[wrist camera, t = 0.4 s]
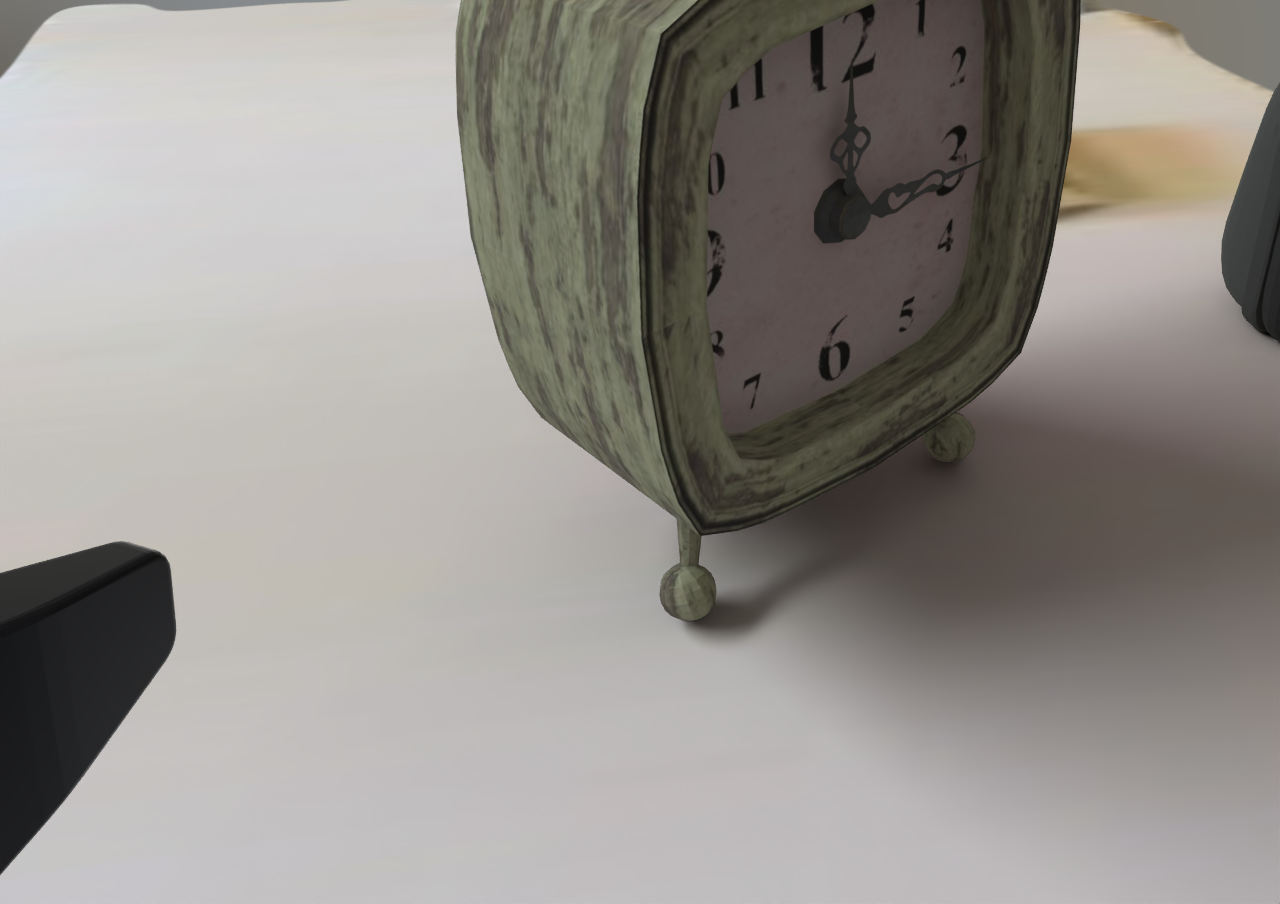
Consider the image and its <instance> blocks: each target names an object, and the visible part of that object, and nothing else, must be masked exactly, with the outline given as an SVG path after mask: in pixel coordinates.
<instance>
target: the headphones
mask: <svg viewBox="0 0 1280 904" xmlns="http://www.w3.org/2000/svg"><path fill="white" fill-rule="evenodd" d="M1221 262H1222V274H1223V277H1224V281H1225V284H1226V287H1227V289H1228V291H1229V292H1230V294H1231V295H1232V297H1233V298H1234V299H1235V301H1236V302H1237V303H1238V304H1239V305H1240V306H1241V307H1242V314H1243V316H1244V317H1245V319H1246V320H1247V321H1248V322H1249V323H1250V324H1252V325H1253V326H1254V327H1255V328H1256V329H1258V330H1261V331H1264V332H1268V333H1269V334H1270V335H1271V336H1273V337H1274V338H1276V339H1277V340H1279V341H1280V83H1279V85H1278V87H1277V88H1276V89H1275V91H1274V93H1273V95H1272V97H1271V100H1270V102H1269V104H1268V106H1267V108H1266V111H1265V113H1264V116H1263V119H1262V122H1261V124H1260V127H1259V130H1258V133H1257V135H1256V138H1255V141H1254V144H1253V146H1252V149H1251V152H1250V155H1249V157H1248V160H1247V163H1246V166H1245V168H1244V171H1243V174H1242V177H1241V180H1240V183H1239V186H1238V189H1237V192H1236V195H1235V198H1234V201H1233V204H1232V207H1231V209H1230V212H1229V215H1228V218H1227V221H1226V225H1225V230H1224V234H1223V239H1222V254H1221Z"/></svg>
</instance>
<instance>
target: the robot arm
mask: <svg viewBox="0 0 1280 904" xmlns="http://www.w3.org/2000/svg"><path fill="white" fill-rule="evenodd" d="M175 636H176V619H175V609H174V599H173V588H172V578H171V569H170V564H169V562H168V560H167V558H166V557H165V555H163V554H162V553H160V552H159V551H156V550H153V549H150V548H146V547H143V546H139V545H136V544H133V543H129V542H123V541H120V542H113V543H109V544H105V545H102V546H98V547H94V548H91V549H87V550H83V551H80V552H76V553H72V554H68V555H65V556H61V557H57V558H54V559H50V560H46V561H43V562H39V563H35V564H32V565H28V566H24V567H21V568H17V569H13V570H10V571H6V572H2V573H0V875H1V874H2V873H3V871H4V870H5V869H6V868H7V867H8V866H9V865H10V863H11V862H12V861H13V860H14V859H15V858H16V857H17V855H18V854H19V853H20V852H21V851H22V850H23V848H24V847H25V846H26V845H27V844H28V843H29V842H30V840H31V839H32V838H33V837H34V836H35V835H36V834H37V832H38V831H39V830H40V829H41V828H42V827H43V826H44V824H45V823H46V822H47V821H48V820H49V819H50V817H51V816H52V815H53V814H54V813H55V811H56V810H57V809H58V808H59V807H60V805H61V804H62V803H63V802H64V801H65V799H66V798H67V797H68V795H69V794H70V793H71V792H72V790H73V789H74V788H75V786H76V785H77V784H78V782H79V781H80V780H81V778H82V777H83V776H84V774H85V773H86V772H87V770H88V769H89V767H90V766H91V765H92V763H93V762H94V760H95V759H96V758H97V756H98V755H99V753H100V752H101V751H102V749H103V748H104V746H105V745H106V744H107V742H108V741H109V739H110V738H111V737H112V735H113V734H114V732H115V731H116V730H117V728H118V727H119V725H120V724H121V723H122V721H123V720H124V718H125V717H126V716H127V714H128V713H129V711H130V710H131V709H132V707H133V706H134V704H135V703H136V702H137V700H138V699H139V697H140V696H141V695H142V693H143V692H144V690H145V689H146V688H147V686H148V685H149V683H150V682H151V681H152V679H153V678H154V676H155V675H156V674H157V672H158V671H159V669H160V668H161V667H162V665H163V664H164V662H165V661H166V659H167V658H168V656H169V654H170V652H171V650H172V648H173V645H174V641H175Z"/></svg>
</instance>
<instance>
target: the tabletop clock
mask: <svg viewBox="0 0 1280 904" xmlns="http://www.w3.org/2000/svg"><path fill="white" fill-rule="evenodd" d="M1079 32H1080V0H461V3H460V9H459V16H458V22H457V28H456V87H457V118H458V127H459V135H460V144H461V153H462V162H463V171H464V180H465V188H466V197H467V206H468V215H469V224H470V233H471V239H472V242H473V246H474V250H475V254H476V257H477V261H478V265H479V269H480V272H481V276H482V280H483V284H484V287H485V291H486V295H487V299H488V302H489V306H490V310H491V314H492V318H493V321H494V325H495V329H496V333H497V336H498V340H499V342H500V345H501V347H502V350H503V352H504V355H505V357H506V360H507V363H508V365H509V367H510V369H511V372H512V374H513V376H514V378H515V381H516V383H517V385H518V387H519V389H520V390H521V391H522V393H523V394H524V395H525V397H526V398H527V399H528V400H529V402H530V403H531V404H532V406H533V407H534V408H535V410H536V411H537V412H538V414H539V415H540V416H541V418H543V419H544V420H545V421H547V422H548V423H549V424H551V425H552V426H553V427H555V428H556V429H557V430H559V431H560V432H561V433H563V434H564V435H565V436H567V437H568V438H569V439H571V440H572V441H573V442H575V443H576V444H578V445H579V446H580V447H582V448H583V449H584V450H586V451H587V452H588V453H590V454H591V455H592V456H594V457H595V458H596V459H598V460H599V461H600V462H602V463H603V464H604V465H606V466H607V467H608V468H610V469H611V470H612V471H614V472H615V473H616V474H618V475H619V476H620V477H622V478H623V479H625V480H626V481H627V482H629V483H630V484H631V485H633V486H634V487H635V488H637V489H638V490H639V491H641V492H642V493H643V494H645V495H646V496H647V497H649V498H650V499H651V500H653V501H654V502H655V503H657V504H658V505H659V506H661V507H662V508H663V509H665V510H666V511H667V512H669V513H670V514H672V515H673V516H674V517H676V518H677V527H678V540H679V553H680V563H679V564H677V565H675V566H673V567H672V568H671V569H670V570H668V571H667V572H666V573H665V574H664V576H663V578H662V580H661V586H660V599H661V604H662V605H663V607H664V609H665V611H667V612H668V613H669V614H670V615H671V616H673V617H675V618H678V619H681V620H684V621H693V620H698V619H700V618H702V617H704V616H705V615H706V614H707V613H708V612H710V611H711V609H712V608H713V606H714V604H715V600H716V585H715V580H714V578H713V576H712V575H711V573H710V572H709V571H708V570H707V569H706V568H705V567H703V566H700V565H698V563H699V554H700V545H701V536H703V535H710V534H717V533H724V532H732V531H738V530H741V529H744V528H748V527H751V526H754V525H757V524H760V523H763V522H765V521H767V520H770V519H772V518H774V517H776V516H778V515H780V514H782V513H785V512H787V511H789V510H791V509H793V508H795V507H797V506H799V505H801V504H803V503H805V502H807V501H809V500H811V499H813V498H815V497H816V496H818V495H820V494H822V493H824V492H826V491H828V490H830V489H832V488H834V487H836V486H838V485H840V484H842V483H844V482H846V481H848V480H850V479H852V478H854V477H856V476H858V475H860V474H862V473H864V472H866V471H868V470H870V469H872V468H874V467H875V466H877V465H878V464H880V463H881V462H883V461H884V460H886V459H887V458H889V457H890V456H892V455H893V454H895V453H896V452H898V451H899V450H901V449H902V448H904V447H905V446H907V445H908V444H910V443H911V442H913V441H914V440H916V439H917V438H919V437H920V436H922V435H923V442H924V444H925V446H926V448H927V450H928V452H929V453H930V454H931V455H932V456H933V457H934V458H935V459H937V460H939V461H942V462H956V461H959V460H961V459H962V458H964V457H965V456H966V455H967V454H968V453H969V452H970V451H971V449H972V448H973V446H974V442H975V432H974V430H973V428H972V425H971V424H970V423H969V421H968V420H967V419H966V418H965V417H964V416H963V415H961V414H959V413H957V411H959V410H960V409H961V408H963V407H964V406H966V405H967V404H968V403H970V402H971V401H972V400H974V399H975V398H976V397H977V396H978V395H979V394H981V393H982V392H983V391H984V390H985V389H986V388H988V387H989V386H990V385H991V384H992V383H993V382H994V381H995V380H996V379H997V378H998V377H999V376H1000V375H1001V373H1002V372H1003V371H1004V370H1005V369H1006V368H1007V367H1008V366H1009V365H1010V364H1011V363H1012V362H1013V361H1014V360H1015V359H1016V357H1017V356H1018V355H1019V354H1020V353H1021V351H1022V348H1023V345H1024V343H1025V340H1026V337H1027V335H1028V332H1029V329H1030V327H1031V324H1032V321H1033V318H1034V316H1035V313H1036V310H1037V308H1038V304H1039V300H1040V297H1041V293H1042V289H1043V285H1044V281H1045V277H1046V273H1047V269H1048V265H1049V261H1050V256H1051V252H1052V247H1053V242H1054V236H1055V230H1056V224H1057V219H1058V213H1059V207H1060V201H1061V195H1062V190H1063V184H1064V178H1065V172H1066V166H1067V161H1068V155H1069V149H1070V143H1071V134H1072V121H1073V109H1074V96H1075V83H1076V71H1077V58H1078V45H1079Z"/></svg>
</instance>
